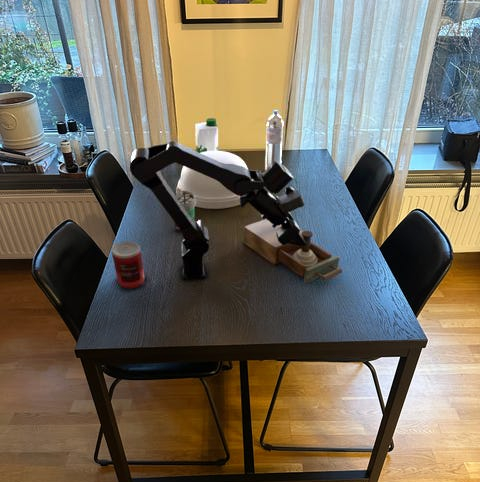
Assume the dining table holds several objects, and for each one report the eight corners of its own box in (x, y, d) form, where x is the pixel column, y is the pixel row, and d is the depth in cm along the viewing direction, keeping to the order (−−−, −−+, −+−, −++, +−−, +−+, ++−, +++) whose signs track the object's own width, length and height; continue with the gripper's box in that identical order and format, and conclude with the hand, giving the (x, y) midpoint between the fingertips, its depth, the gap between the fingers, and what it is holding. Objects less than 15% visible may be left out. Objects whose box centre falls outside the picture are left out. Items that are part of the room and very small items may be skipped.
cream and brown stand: (320, 266, 133) (324, 239, 128) (294, 268, 133) (297, 241, 127) (313, 252, 140) (316, 225, 134) (288, 254, 139) (290, 227, 133)
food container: (192, 234, 151) (190, 207, 145) (174, 233, 152) (171, 205, 146) (201, 217, 161) (200, 191, 154) (185, 216, 161) (183, 189, 155)
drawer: (347, 275, 132) (349, 263, 129) (316, 290, 126) (318, 277, 124) (304, 248, 144) (305, 236, 141) (274, 260, 138) (275, 248, 135)
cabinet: (307, 250, 144) (309, 234, 140) (274, 264, 138) (275, 247, 134) (276, 231, 154) (277, 214, 150) (243, 243, 148) (244, 226, 144)
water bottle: (261, 170, 195) (264, 109, 179) (275, 167, 197) (279, 107, 181) (269, 176, 190) (272, 114, 174) (283, 173, 192) (287, 112, 176)
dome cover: (187, 214, 163) (184, 177, 154) (166, 182, 184) (162, 148, 175) (268, 200, 172) (270, 164, 163) (239, 171, 194) (239, 138, 185)
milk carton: (220, 170, 194) (219, 122, 182) (200, 172, 192) (197, 124, 180) (215, 162, 201) (214, 116, 188) (195, 165, 199) (192, 117, 186)
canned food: (132, 270, 135) (127, 238, 128) (150, 280, 131) (146, 247, 124) (112, 281, 130) (105, 249, 123) (130, 292, 126) (124, 259, 120)
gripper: (294, 198, 113) (332, 234, 120) (281, 169, 127) (315, 203, 135) (262, 228, 117) (300, 261, 125) (252, 196, 131) (287, 228, 139)
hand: (301, 236), depth 131 cm, fingers open, 9 cm apart
